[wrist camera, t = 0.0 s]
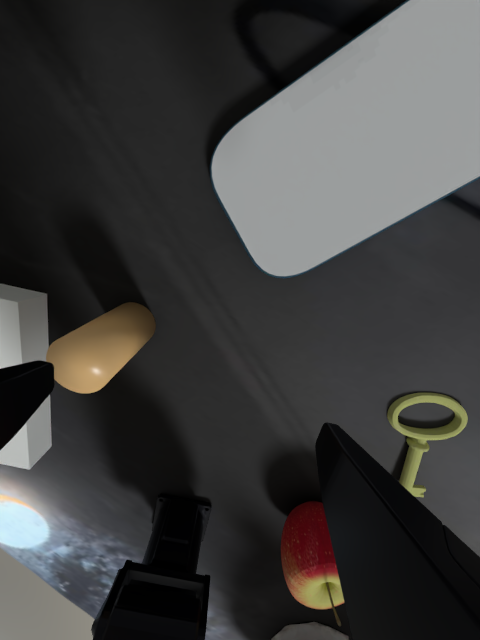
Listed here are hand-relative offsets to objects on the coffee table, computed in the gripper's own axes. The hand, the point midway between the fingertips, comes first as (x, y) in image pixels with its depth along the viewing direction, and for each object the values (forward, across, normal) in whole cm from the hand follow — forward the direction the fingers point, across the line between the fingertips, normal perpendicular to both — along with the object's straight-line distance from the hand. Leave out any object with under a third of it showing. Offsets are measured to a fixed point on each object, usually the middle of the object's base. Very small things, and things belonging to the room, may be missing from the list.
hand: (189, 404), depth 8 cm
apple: (+15, -15, +23) cm, 32 cm away
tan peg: (+15, +8, +4) cm, 17 cm away
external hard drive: (+15, -8, -14) cm, 22 cm away
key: (+15, -22, +10) cm, 29 cm away
